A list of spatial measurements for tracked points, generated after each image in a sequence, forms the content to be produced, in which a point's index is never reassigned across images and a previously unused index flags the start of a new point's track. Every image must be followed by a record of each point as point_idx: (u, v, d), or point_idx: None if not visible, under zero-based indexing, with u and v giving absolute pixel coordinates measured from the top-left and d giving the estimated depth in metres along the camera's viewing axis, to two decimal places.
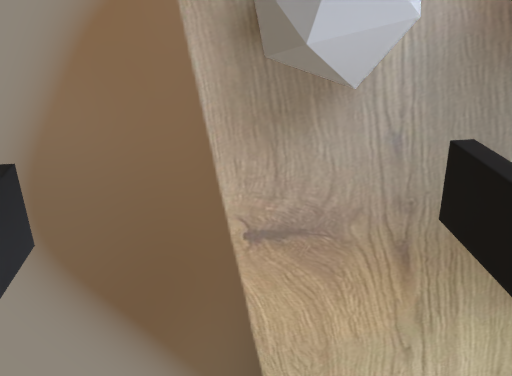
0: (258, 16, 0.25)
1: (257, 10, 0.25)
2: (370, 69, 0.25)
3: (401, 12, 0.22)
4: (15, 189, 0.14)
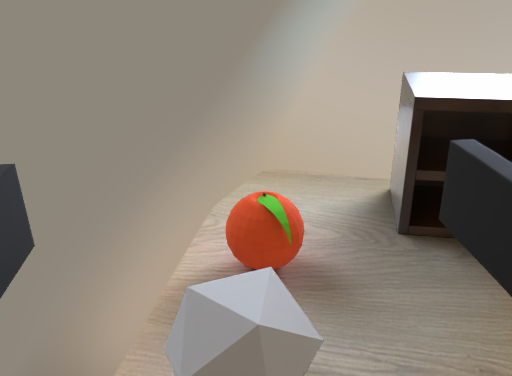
0: None
1: None
2: (306, 317, 0.28)
3: (263, 274, 0.29)
4: (15, 189, 0.14)
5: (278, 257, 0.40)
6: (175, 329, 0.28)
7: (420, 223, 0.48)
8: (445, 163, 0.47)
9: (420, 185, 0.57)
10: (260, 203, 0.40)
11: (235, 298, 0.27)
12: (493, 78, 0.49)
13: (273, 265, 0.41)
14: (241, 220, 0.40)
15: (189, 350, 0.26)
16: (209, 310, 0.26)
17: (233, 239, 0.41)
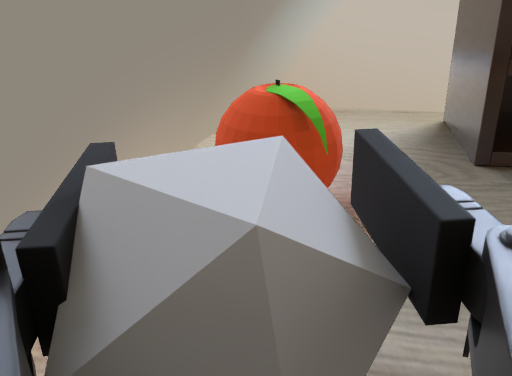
0: None
1: None
2: (367, 238, 0.12)
3: (265, 145, 0.13)
4: None
5: None
6: None
7: (508, 149, 0.32)
8: None
9: None
10: (271, 93, 0.24)
11: (197, 181, 0.11)
12: None
13: None
14: (240, 120, 0.24)
15: (74, 308, 0.10)
16: (131, 208, 0.10)
17: None
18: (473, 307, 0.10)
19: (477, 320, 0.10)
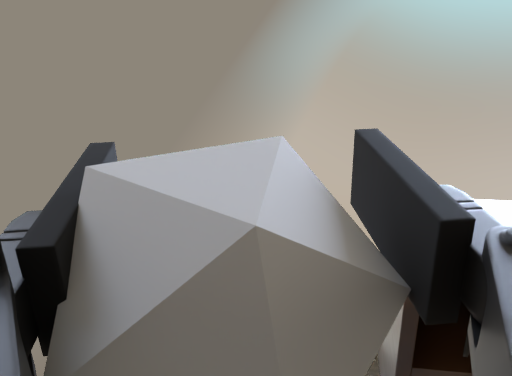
0: None
1: None
2: (366, 239, 0.12)
3: (265, 145, 0.13)
4: None
5: None
6: None
7: None
8: (454, 348, 0.32)
9: None
10: None
11: (197, 182, 0.11)
12: None
13: None
14: None
15: (73, 309, 0.10)
16: (130, 209, 0.10)
17: None
18: (473, 307, 0.10)
19: (477, 320, 0.10)
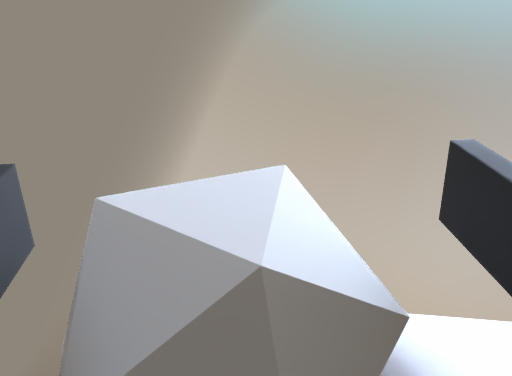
0: None
1: None
2: (367, 267, 0.13)
3: (269, 175, 0.13)
4: (15, 189, 0.14)
5: None
6: (74, 298, 0.13)
7: None
8: None
9: None
10: None
11: (203, 216, 0.11)
12: (394, 351, 0.18)
13: None
14: None
15: (85, 341, 0.10)
16: (139, 243, 0.11)
17: None
18: None
19: None
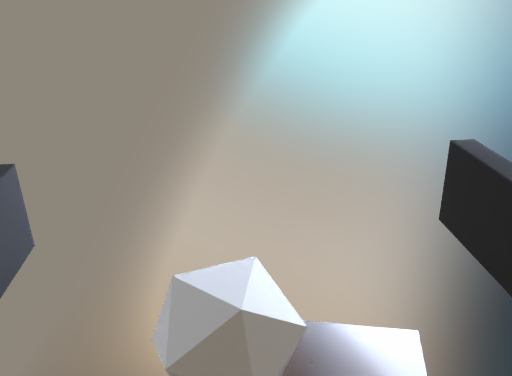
0: None
1: None
2: (289, 305, 0.29)
3: (247, 263, 0.29)
4: (15, 189, 0.14)
5: None
6: (162, 318, 0.29)
7: None
8: None
9: None
10: None
11: (219, 286, 0.27)
12: (315, 343, 0.34)
13: None
14: None
15: (174, 336, 0.26)
16: (194, 298, 0.27)
17: None
18: None
19: None
